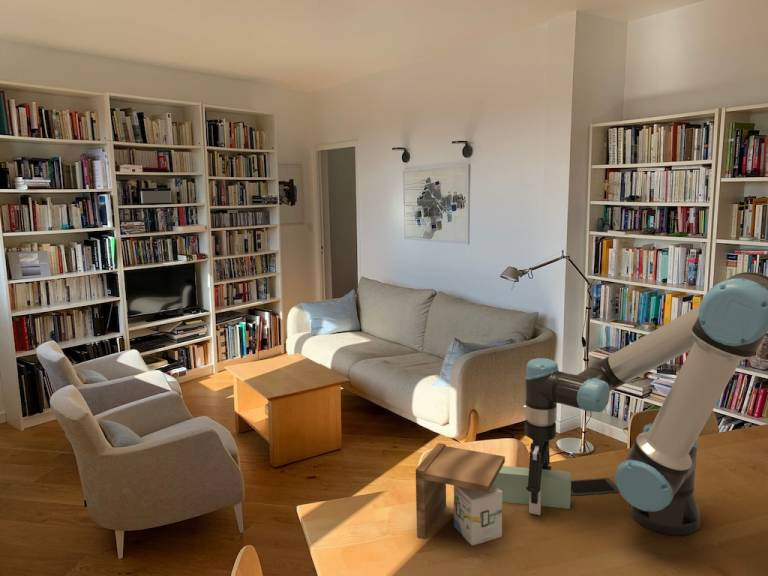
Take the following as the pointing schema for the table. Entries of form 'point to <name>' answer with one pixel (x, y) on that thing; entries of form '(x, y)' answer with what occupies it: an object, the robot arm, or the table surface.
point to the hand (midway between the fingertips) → (538, 503)
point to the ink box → (478, 514)
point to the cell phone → (592, 487)
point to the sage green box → (552, 486)
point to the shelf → (450, 479)
